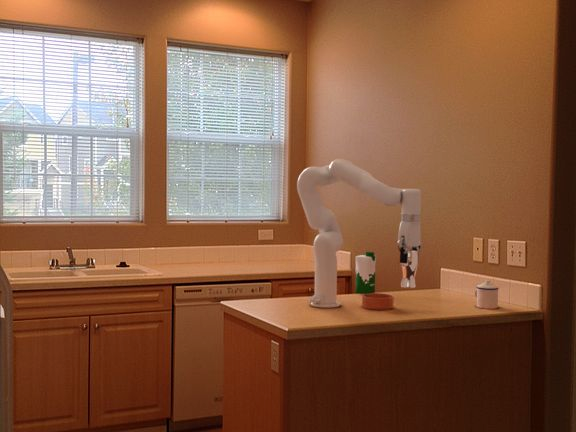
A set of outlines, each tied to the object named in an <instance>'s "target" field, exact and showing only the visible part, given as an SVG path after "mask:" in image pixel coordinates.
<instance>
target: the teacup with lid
mask: <svg viewBox="0 0 576 432" xmlns="http://www.w3.org/2000/svg"><path fill="white" fill-rule="evenodd" d="M474 297H475V299H476V307H477V308H479V309H484V310H495V309H497V308H498V306H499V286H498V285H496V284H494V283H492V282H491V280H490V279H485V280H484V282H482V283H480V284H477V285H476V289H475V290H474Z"/></svg>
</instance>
